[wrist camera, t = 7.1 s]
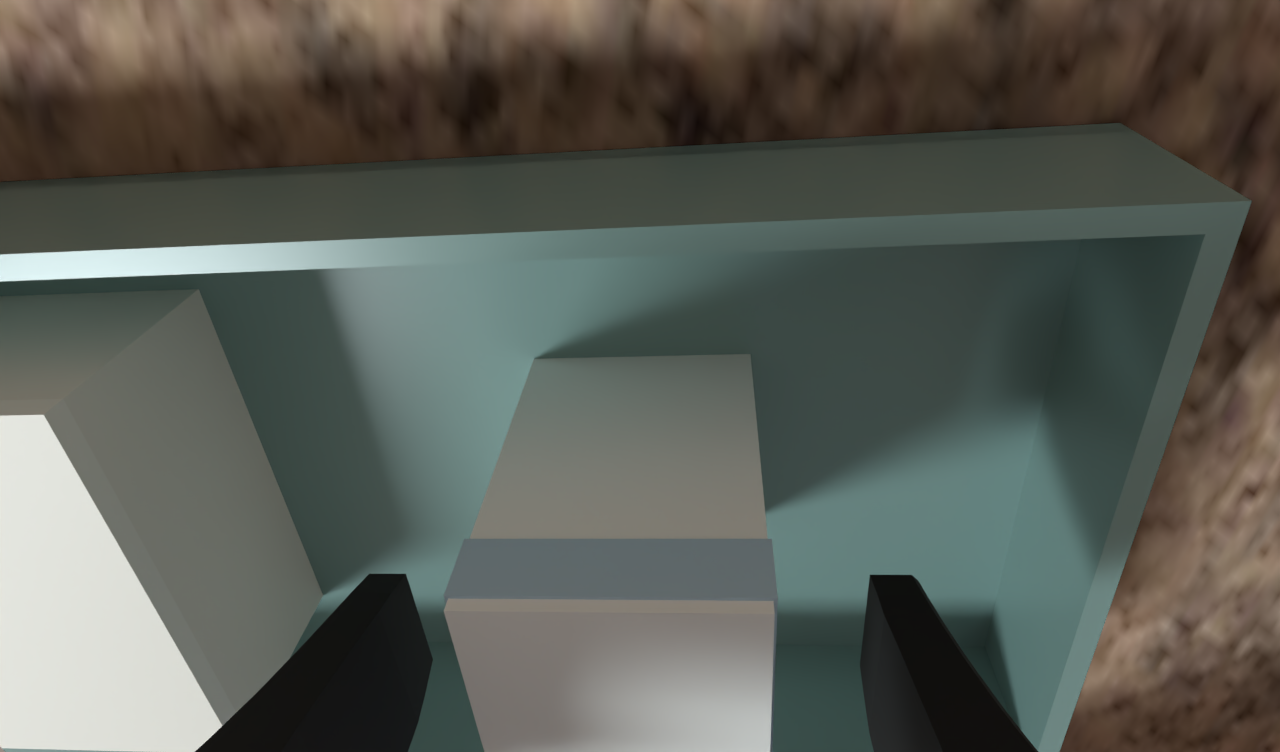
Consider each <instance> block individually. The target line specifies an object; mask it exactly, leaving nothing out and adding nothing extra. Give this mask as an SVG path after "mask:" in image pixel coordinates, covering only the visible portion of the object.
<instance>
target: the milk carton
mask: <svg viewBox="0 0 1280 752" xmlns="http://www.w3.org/2000/svg"><path fill="white" fill-rule="evenodd" d="M444 599H445V603H446V606H445V609H444V614H445V617H446V621H447V624H448V628H449V631H450V635H451V638H452V642H453V645H454V649H455V652H456V655H457V659H458V662H459V666H460V669H461V673H462V676H463V680H464V683H465V687H466V690H467V694H468V697H469V700H470V704H471V707H472V711H473V714H474V718H475V721H476V725H477V728H478V732H479V735H480V739H481V742H482V745H483V749H484V752H772V749H773V720H774V692H775V663H776V635H777V606H778V595H777V585H776V575H775V565H774V555H773V545H772V539H768V537H767V526H766V515H765V505H764V494H763V483H762V473H761V462H760V451H759V440H758V430H757V419H756V408H755V397H754V387H753V376H752V365H751V354H726V355H681V356H636V357H591V358H546V359H534V360H533V363H532V365H531V368H530V371H529V374H528V377H527V379H526V382H525V385H524V388H523V391H522V393H521V396H520V399H519V402H518V405H517V407H516V410H515V413H514V416H513V419H512V421H511V424H510V427H509V430H508V433H507V435H506V438H505V441H504V444H503V447H502V449H501V452H500V455H499V458H498V461H497V463H496V466H495V469H494V472H493V475H492V477H491V480H490V483H489V486H488V489H487V491H486V494H485V497H484V500H483V503H482V505H481V508H480V511H479V514H478V517H477V519H476V522H475V525H474V528H473V531H472V533H471V536H470V539H464V541H463V544H462V546H461V549H460V552H459V555H458V557H457V560H456V563H455V566H454V568H453V571H452V574H451V576H450V579H449V582H448V585H447V587H446V590H445V593H444Z"/></svg>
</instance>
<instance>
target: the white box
mask: <svg viewBox="0 0 1280 752" xmlns="http://www.w3.org/2000/svg"><path fill="white" fill-rule="evenodd" d="M322 597H323V594H322V591H321V589H320V587H319V584H318V582H317V579H316V577H315V574H314V572H313V569H312V567H311V564H310V562H309V559H308V557H307V555H306V552H305V550H304V547H303V545H302V542H301V540H300V537H299V535H298V532H297V530H296V528H295V525H294V523H293V520H292V518H291V515H290V513H289V510H288V508H287V505H286V503H285V500H284V498H283V496H282V493H281V491H280V488H279V486H278V483H277V481H276V478H275V476H274V473H273V471H272V468H271V466H270V464H269V461H268V459H267V456H266V454H265V451H264V449H263V446H262V444H261V441H260V439H259V437H258V434H257V432H256V429H255V427H254V424H253V422H252V419H251V417H250V414H249V412H248V409H247V407H246V405H245V402H244V400H243V397H242V395H241V392H240V390H239V387H238V385H237V382H236V380H235V378H234V375H233V373H232V370H231V368H230V365H229V363H228V360H227V358H226V355H225V353H224V350H223V348H222V346H221V343H220V341H219V338H218V336H217V333H216V331H215V328H214V326H213V323H212V321H211V319H210V316H209V314H208V311H207V309H206V306H205V304H204V301H203V299H202V296H201V294H200V291H199V289H187V290H160V291H133V292H106V293H79V294H52V295H26V296H0V747H1V748H10V749H51V750H92V751H133V752H195V751H196V750H197V749H198V748H199V747H201V746H202V745H203V744H204V743H205V742H206V741H207V740H208V739H209V738H210V737H211V736H212V735H213V734H214V733H216V732H217V731H218V730H219V729H220V728H221V727H222V726H223V725H224V724H225V723H226V722H227V721H228V720H229V719H230V718H231V717H232V716H233V715H234V714H235V713H236V712H237V711H238V710H239V709H240V708H241V707H242V706H243V705H245V704H246V703H247V702H248V701H249V700H250V699H251V698H252V697H253V696H254V695H255V694H256V693H257V692H258V691H259V690H260V689H261V688H262V687H263V686H264V685H265V684H266V683H267V682H268V681H269V680H270V678H271V677H272V676H273V675H274V674H275V673H276V672H277V671H278V670H279V669H280V668H281V667H282V666H283V665H284V664H285V663H286V662H287V661H288V660H289V659H290V657H291V655H292V653H293V651H294V649H295V647H296V645H297V644H298V642H299V640H300V638H301V636H302V634H303V632H304V630H305V629H306V627H307V625H308V623H309V621H310V619H311V617H312V615H313V614H314V612H315V610H316V608H317V606H318V604H319V602H320V600H321V599H322Z"/></svg>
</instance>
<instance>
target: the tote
mask: <svg viewBox="0 0 1280 752" xmlns="http://www.w3.org/2000/svg"><path fill="white" fill-rule="evenodd" d="M1251 202H1252V201H1251V200H1250V199H1248V198H1246V197H1244V196H1243V195H1241V194H1239V193H1238V192H1236V191H1234V190H1233V189H1231V188H1229V187H1228V186H1226V185H1224V184H1223V183H1221V182H1219V181H1217V180H1216V179H1214V178H1212V177H1211V176H1209V175H1207V174H1206V173H1204V172H1202V171H1201V170H1199V169H1197V168H1196V167H1194V166H1192V165H1190V164H1189V163H1187V162H1185V161H1184V160H1182V159H1180V158H1179V157H1177V156H1175V155H1174V154H1172V153H1170V152H1169V151H1167V150H1165V149H1164V148H1162V147H1160V146H1158V145H1157V144H1155V143H1153V142H1152V141H1150V140H1148V139H1147V138H1145V137H1143V136H1142V135H1140V134H1138V133H1137V132H1135V131H1133V130H1131V129H1130V128H1128V127H1126V126H1125V125H1123V124H1121V123H1109V124H1090V125H1071V126H1052V127H1033V128H1014V129H995V130H976V131H957V132H938V133H919V134H900V135H881V136H862V137H843V138H824V139H805V140H786V141H767V142H748V143H729V144H711V145H692V146H673V147H654V148H635V149H616V150H597V151H578V152H559V153H540V154H521V155H502V156H483V157H464V158H445V159H426V160H407V161H388V162H369V163H350V164H331V165H312V166H293V167H274V168H255V169H236V170H217V171H199V172H180V173H161V174H142V175H123V176H104V177H85V178H66V179H47V180H28V181H9V182H0V296H26V295H52V294H79V293H106V292H133V291H160V290H187V289H199V291H200V294H201V296H202V299H203V301H204V304H205V306H206V309H207V311H208V314H209V316H210V319H211V321H212V323H213V326H214V328H215V331H216V333H217V336H218V338H219V341H220V343H221V346H222V348H223V350H224V353H225V355H226V358H227V360H228V363H229V365H230V368H231V370H232V373H233V375H234V378H235V380H236V382H237V385H238V387H239V390H240V392H241V395H242V397H243V400H244V402H245V405H246V407H247V409H248V412H249V414H250V417H251V419H252V422H253V424H254V427H255V429H256V432H257V434H258V437H259V439H260V441H261V444H262V446H263V449H264V451H265V454H266V456H267V459H268V461H269V464H270V466H271V468H272V471H273V473H274V476H275V478H276V481H277V483H278V486H279V488H280V491H281V493H282V496H283V498H284V500H285V503H286V505H287V508H288V510H289V513H290V515H291V518H292V520H293V523H294V525H295V528H296V530H297V532H298V535H299V537H300V540H301V542H302V545H303V547H304V550H305V552H306V555H307V557H308V559H309V562H310V564H311V567H312V569H313V572H314V574H315V577H316V579H317V582H318V584H319V587H320V589H321V591H322V594H323V597H322V599H321V600H320V602H319V604H318V606H317V608H316V610H315V612H314V614H313V615H312V617H311V619H310V621H309V623H308V625H307V627H306V629H305V630H304V632H303V634H302V636H301V638H300V640H299V642H298V644H297V645H296V647H295V649H294V651H293V653H292V655H291V657H292V656H293V655H294V654H295V652H296V651H297V650H298V649H299V648H300V647H301V646H302V645H303V644H304V643H305V642H306V641H307V640H308V639H309V638H310V637H311V635H312V634H313V633H314V632H315V631H316V630H317V629H318V628H319V627H320V626H321V625H322V624H323V622H324V621H325V620H326V619H327V618H328V617H329V616H330V615H331V614H332V613H333V612H334V611H335V609H336V608H337V607H338V606H339V605H340V604H341V603H342V602H343V601H344V600H345V599H346V598H347V596H348V595H349V594H350V593H351V592H352V591H353V590H354V589H355V588H356V587H357V586H358V585H359V584H360V583H361V582H362V581H363V580H364V579H365V578H366V576H367V575H368V574H406V576H407V579H408V582H409V585H410V588H411V591H412V595H413V598H414V601H415V604H416V607H417V610H418V613H419V617H420V620H421V623H422V626H423V629H424V632H425V636H426V639H427V642H428V645H429V648H430V651H431V654H432V658H433V662H432V666H431V671H430V675H429V680H428V684H427V689H426V693H425V697H424V701H423V705H422V709H421V713H420V717H419V721H418V725H417V727H416V730H415V733H414V736H413V739H412V742H411V744H410V747H409V750H408V752H484V749H483V745H482V742H481V739H480V735H479V732H478V728H477V725H476V721H475V718H474V714H473V711H472V707H471V704H470V700H469V697H468V694H467V690H466V687H465V683H464V680H463V676H462V673H461V669H460V666H459V662H458V659H457V655H456V652H455V649H454V645H453V642H452V638H451V635H450V631H449V628H448V624H447V621H446V617H445V614H444V609H445V606H446V603H445V599H444V593H445V590H446V587H447V585H448V582H449V579H450V576H451V574H452V571H453V568H454V566H455V563H456V560H457V557H458V555H459V552H460V549H461V546H462V544H463V541H464V539H470V536H471V533H472V531H473V528H474V525H475V522H476V519H477V517H478V514H479V511H480V508H481V505H482V503H483V500H484V497H485V494H486V491H487V489H488V486H489V483H490V480H491V477H492V475H493V472H494V469H495V466H496V463H497V461H498V458H499V455H500V452H501V449H502V447H503V444H504V441H505V438H506V435H507V433H508V430H509V427H510V424H511V421H512V419H513V416H514V413H515V410H516V407H517V405H518V402H519V399H520V396H521V393H522V391H523V388H524V385H525V382H526V379H527V377H528V374H529V371H530V368H531V365H532V363H533V360H534V359H546V358H591V357H636V356H681V355H726V354H751V365H752V376H753V387H754V397H755V408H756V419H757V430H758V440H759V451H760V462H761V473H762V483H763V494H764V505H765V515H766V526H767V537H768V539H772V545H773V555H774V565H775V575H776V585H777V595H778V606H777V635H776V663H775V692H774V720H773V749H772V752H874V750H873V746H872V742H871V738H870V734H869V727H868V721H867V714H866V707H865V700H864V693H863V685H862V678H861V670H860V659H861V650H862V641H863V632H864V623H865V614H866V605H867V596H868V587H869V578H870V575H913V576H914V577H915V578H916V579H917V580H918V581H919V583H920V584H921V586H922V588H923V589H924V591H925V593H926V595H927V596H928V598H929V600H930V601H931V603H932V604H933V606H934V608H935V609H936V611H937V613H938V614H939V616H940V617H941V619H942V620H943V622H944V624H945V625H946V627H947V628H948V630H949V631H950V633H951V634H952V636H953V637H954V639H955V640H956V642H957V643H958V645H959V646H960V648H961V649H962V651H963V652H964V654H965V655H966V657H967V658H968V659H969V661H970V662H971V664H972V665H973V667H974V668H975V669H976V671H977V672H978V674H979V675H980V676H981V678H982V679H983V680H984V682H985V683H986V684H987V686H988V687H989V689H990V690H991V691H992V693H993V694H994V695H995V697H996V698H997V699H998V701H999V702H1000V703H1001V705H1002V706H1003V708H1004V709H1005V710H1006V712H1007V713H1008V714H1009V715H1010V717H1011V718H1012V719H1013V721H1014V722H1015V723H1016V724H1017V726H1018V727H1019V728H1020V730H1021V731H1022V732H1023V733H1024V735H1025V736H1026V737H1027V738H1028V740H1029V741H1030V742H1031V743H1032V744H1033V746H1034V747H1035V748H1036V749H1037V751H1038V752H1060V749H1061V746H1062V743H1063V740H1064V738H1065V735H1066V732H1067V729H1068V726H1069V723H1070V720H1071V718H1072V715H1073V712H1074V709H1075V706H1076V703H1077V700H1078V698H1079V695H1080V692H1081V689H1082V686H1083V683H1084V680H1085V677H1086V675H1087V672H1088V669H1089V666H1090V663H1091V660H1092V657H1093V655H1094V652H1095V649H1096V646H1097V643H1098V640H1099V637H1100V635H1101V632H1102V629H1103V626H1104V623H1105V620H1106V617H1107V614H1108V612H1109V609H1110V606H1111V603H1112V600H1113V597H1114V594H1115V592H1116V589H1117V586H1118V583H1119V580H1120V577H1121V574H1122V571H1123V569H1124V566H1125V563H1126V560H1127V557H1128V554H1129V551H1130V549H1131V546H1132V543H1133V540H1134V537H1135V534H1136V531H1137V529H1138V526H1139V523H1140V520H1141V517H1142V514H1143V511H1144V508H1145V506H1146V503H1147V500H1148V497H1149V494H1150V491H1151V488H1152V486H1153V483H1154V480H1155V477H1156V474H1157V471H1158V468H1159V466H1160V463H1161V460H1162V457H1163V454H1164V451H1165V448H1166V445H1167V443H1168V440H1169V437H1170V434H1171V431H1172V428H1173V425H1174V423H1175V420H1176V417H1177V414H1178V411H1179V408H1180V405H1181V402H1182V400H1183V397H1184V394H1185V391H1186V388H1187V385H1188V382H1189V380H1190V377H1191V374H1192V371H1193V368H1194V365H1195V362H1196V360H1197V357H1198V354H1199V351H1200V348H1201V345H1202V342H1203V339H1204V337H1205V334H1206V331H1207V328H1208V325H1209V322H1210V319H1211V317H1212V314H1213V311H1214V308H1215V305H1216V302H1217V299H1218V296H1219V294H1220V291H1221V288H1222V285H1223V282H1224V279H1225V276H1226V274H1227V271H1228V268H1229V265H1230V262H1231V259H1232V256H1233V254H1234V251H1235V248H1236V245H1237V242H1238V239H1239V236H1240V233H1241V231H1242V228H1243V225H1244V222H1245V219H1246V216H1247V213H1248V211H1249V208H1250V205H1251ZM291 657H290V658H291ZM2 749H3V750H4V751H5V752H133V751H92V750H51V749H10V748H2Z"/></svg>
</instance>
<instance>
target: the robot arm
mask: <svg viewBox="0 0 1280 752" xmlns="http://www.w3.org/2000/svg"><path fill="white" fill-rule="evenodd" d="M432 662H433V658H432V654H431V651H430V648H429V645H428V642H427V639H426V636H425V632H424V629H423V626H422V623H421V620H420V617H419V613H418V610H417V607H416V604H415V601H414V598H413V595H412V591H411V588H410V585H409V582H408V579H407V576H406V574H368V575H367V576H366V578H365V579H364V580H363V581H362V582H361V583H360V584H359V585H358V586H357V587H356V588H355V589H354V590H353V591H352V592H351V593H350V594H349V595H348V596H347V598H346V599H345V600H344V601H343V602H342V603H341V604H340V605H339V606H338V607H337V608H336V609H335V611H334V612H333V613H332V614H331V615H330V616H329V617H328V618H327V619H326V620H325V621H324V622H323V624H322V625H321V626H320V627H319V628H318V629H317V630H316V631H315V632H314V633H313V634H312V635H311V637H310V638H309V639H308V640H307V641H306V642H305V643H304V644H303V645H302V646H301V647H300V648H299V649H298V650H297V651H296V652H295V654H294V655H293V656H292V657H291V658H290V659H289V660H288V661H287V662H286V663H285V664H284V665H283V666H282V667H281V668H280V669H279V670H278V671H277V672H276V673H275V674H274V675H273V676H272V677H271V678H270V680H269V681H268V682H267V683H266V684H265V685H264V686H263V687H262V688H261V689H260V690H259V691H258V692H257V693H256V694H255V695H254V696H253V697H252V698H251V699H250V700H249V701H248V702H247V703H246V704H245V705H243V706H242V707H241V708H240V709H239V710H238V711H237V712H236V713H235V714H234V715H233V716H232V717H231V718H230V719H229V720H228V721H227V722H226V723H225V724H224V725H223V726H222V727H221V728H220V729H219V730H218V731H217V732H216V733H214V734H213V735H212V736H211V737H210V738H209V739H208V740H207V741H206V742H205V743H204V744H203V745H202V746H201V747H199V748H198V749H197V750H196V751H195V752H408V750H409V747H410V744H411V742H412V739H413V736H414V733H415V730H416V727H417V725H418V721H419V717H420V713H421V709H422V705H423V701H424V697H425V693H426V689H427V684H428V680H429V675H430V671H431V666H432ZM860 670H861V678H862V685H863V693H864V700H865V707H866V714H867V721H868V727H869V734H870V738H871V742H872V746H873V750H874V752H1038V751H1037V749H1036V748H1035V747H1034V746H1033V744H1032V743H1031V742H1030V741H1029V740H1028V738H1027V737H1026V736H1025V735H1024V733H1023V732H1022V731H1021V730H1020V728H1019V727H1018V726H1017V724H1016V723H1015V722H1014V721H1013V719H1012V718H1011V717H1010V715H1009V714H1008V713H1007V712H1006V710H1005V709H1004V708H1003V706H1002V705H1001V703H1000V702H999V701H998V699H997V698H996V697H995V695H994V694H993V693H992V691H991V690H990V689H989V687H988V686H987V684H986V683H985V682H984V680H983V679H982V678H981V676H980V675H979V674H978V672H977V671H976V669H975V668H974V667H973V665H972V664H971V662H970V661H969V659H968V658H967V657H966V655H965V654H964V652H963V651H962V649H961V648H960V646H959V645H958V643H957V642H956V640H955V639H954V637H953V636H952V634H951V633H950V631H949V630H948V628H947V627H946V625H945V624H944V622H943V620H942V619H941V617H940V616H939V614H938V613H937V611H936V609H935V608H934V606H933V604H932V603H931V601H930V600H929V598H928V596H927V595H926V593H925V591H924V589H923V588H922V586H921V584H920V583H919V581H918V580H917V579H916V578H915V577H914V576H913V575H870V578H869V587H868V596H867V605H866V614H865V623H864V632H863V641H862V650H861V659H860Z"/></svg>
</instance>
